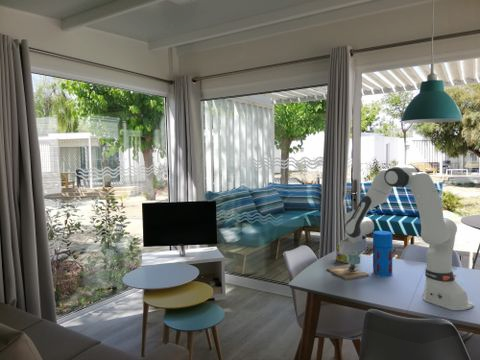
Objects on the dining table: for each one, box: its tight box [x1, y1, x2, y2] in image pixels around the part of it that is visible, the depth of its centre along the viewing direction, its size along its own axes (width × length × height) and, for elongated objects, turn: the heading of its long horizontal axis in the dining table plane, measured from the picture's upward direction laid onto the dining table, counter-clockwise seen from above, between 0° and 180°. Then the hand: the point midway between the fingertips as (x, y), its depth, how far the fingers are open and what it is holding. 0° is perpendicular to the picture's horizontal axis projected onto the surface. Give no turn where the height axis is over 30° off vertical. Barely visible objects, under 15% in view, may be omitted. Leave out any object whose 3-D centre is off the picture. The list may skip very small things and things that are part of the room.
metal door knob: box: [348, 263, 358, 271], centre depth 228 cm, size 5×5×7 cm
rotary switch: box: [346, 252, 361, 266], centre depth 228 cm, size 6×6×6 cm
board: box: [326, 264, 370, 281], centre depth 227 cm, size 20×17×2 cm
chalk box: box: [335, 242, 348, 264], centre depth 251 cm, size 9×9×15 cm
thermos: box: [372, 230, 393, 278], centre depth 223 cm, size 11×11×25 cm
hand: (353, 259), depth 228 cm, fingers closed on rotary switch, 6 cm apart
